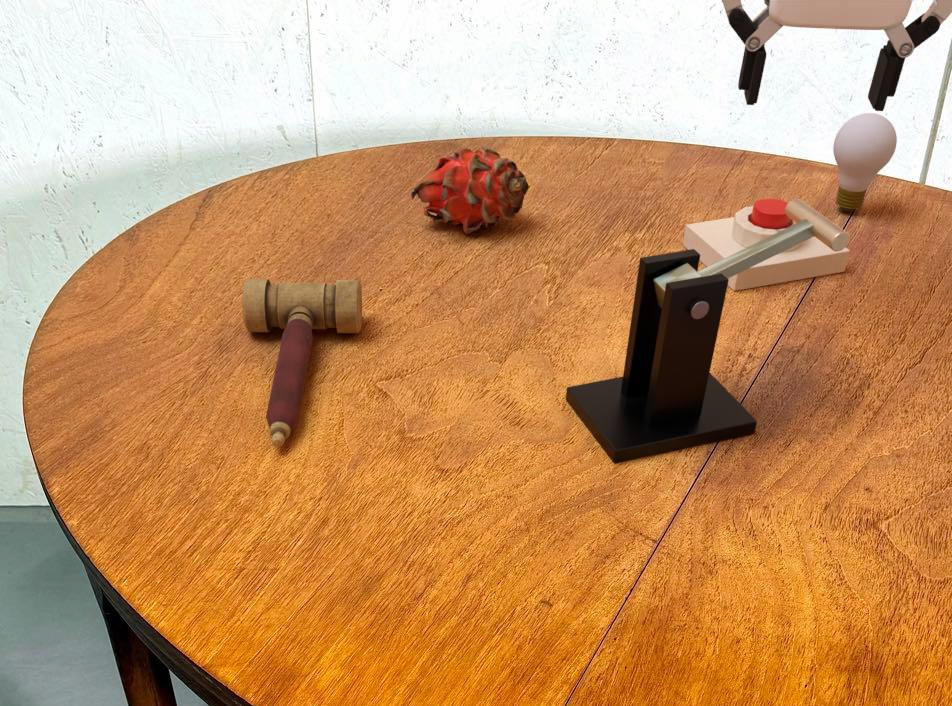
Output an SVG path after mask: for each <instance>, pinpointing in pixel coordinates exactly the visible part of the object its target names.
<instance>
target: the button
mask: <svg viewBox="0 0 952 706" xmlns="http://www.w3.org/2000/svg"><path fill="white" fill-rule="evenodd" d="M788 203H789V202H787V201H785V200H781V199H777V198H761V199H758V200H756V201H755V202H754V203H753V205H752V206H753V211H752V215H751V220H750V222H751V223H752V224H753V225H755V226H758V227H761V228H764V229H775V230H778V229H785V228H788V227H789V224H790V220H791V219H790V218H789V217H788V216H786V214H785V208H786V206H787V204H788Z"/></svg>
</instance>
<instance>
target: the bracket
mask: <svg viewBox="0 0 952 706" xmlns="http://www.w3.org/2000/svg"><path fill="white" fill-rule="evenodd" d="M686 263H688V264H689V265H690V266H691V267H693V268H694V269H695V270H696V271H697V272H698V271H699V265H700V254H699V253H698V252H697V251H696V250H695V249H691V250H687V249H686V250H679V251H672V252H668V253H666V252H665V253H662V254H654V255H647V256H643V257H640V258H639V264H638V269H637V276H636V284H635V291H634V297H633V304H632V312H631V318H630V325H629V332H628V339H627V346H626V353H625V358H624V359H625V361H624V367H623V374H622V376H619V377H618V376H617V377H614V378H608V379H603V380H598V381H593V382H592V381H591V382H588V383H582V384H576V385H572V386H567V387H566V392H565V400H566V402H567V403H568V405H570V407H571V408H572V409H573V411H574V412H575V414H576V415H577V416H578V418H579V419H580V420H581V422H582V423H583V424H584V426H585V427H586V428H587V429H588V431H589V432H590V433H591V435H592V436H593V438H594V439H595V440H596V441H597V443H598V444H599V445H600V447H601V448H602V450H604V452H605V453H606V454H607V456H608V457H609V458H610V460H611V461H612V462H613V463H614V464H615V463H620V462H626V461H631V460H635V459H639V458H640V459H641V458H644V457H650V456H655V455H659V454H662V453H663V454H664V453H669V452H673V451H677V450H682V449H688V448H693V447H697V446H702V445H707V444H711V443H715V442H721V441H725V440H731V439H735V438H739V437H740V438H741V437H745V436H748V435H754V434H755V432H756V428H757V424H758V420H756V418H755V417H754V416H753V415H752V414H751V413H750V412H749V411H748V410H747V409H746V408H745V407H744V406H743V405H742V404H741V403H740V402H739V401H738V400H737V399H736V398H735V397H734V396H733V395H732V393H730V391H729V390H728V389H727V388H725V387H724V385H722V383H721V382H720V381H719V380H718V379H717V378H716V377H715V376H714V375H713V374H712V373H711V368H712V367H711V366H712V363H713V357H714V353H715V348H716V343H717V339H718V333H719V329H720V324H721V319H722V315H723V314H722V313H723V310H724V305H725V300H726V295H727V290H728V287H729V286H728V281H729V279H727V278H726V277H725V276H724V275H723V274H716V275H710V276H704V277H698V278H692V279H686V280H681V281H675V282H669V283H666V288H665V294H664V300H663V306H662V309H661V308H660V306H659V305H658V301H657V296H656V291H655V286H654V281H653V280H654V279H655V278H657V277H659V276H661V275H664V274H666V273H668V272H670V271H672V270H674V269H676V268H678V267H680V266H682V265H684V264H686Z"/></svg>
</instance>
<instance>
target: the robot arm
mask: <svg viewBox="0 0 952 706" xmlns="http://www.w3.org/2000/svg"><path fill="white" fill-rule="evenodd" d="M721 1H722V5H723V8H724V11H725V14H726V17H727V21H728V24H729V26H730V27H731V28H732V29H733V31H734V32H735V34H736V35H737V36H738V38H739V39H740V40H741V42H742V43H743V44H744V51H743V55H742V62H741V66H740V72H739V76H738V83H737V84H738V85H737V88H738V90H739V91H743V94H744V98H745V103H746V106H754V105H755V104H757V103H758V100H759V99H758V98H759V94H760V89H761V84H762V81H763V75H764V70H765V66H766V61H767V60H766V59H767V51H766V48H765V44H766V43H767V42H768V41H769V40H770V39H772V38H773V37H774V35H775V34H777V33H778V32H779V31H780V30H781V29H782V28H783V27H790V28H807V29H828V30H830V29H831V30H854V31H855V30H856V31H857V30H858V31H859V30H860V31H884V33H885V35H886V37H887V39H888V40H887V42H886V44H885V45H884V44H883V47H882V48H880V50H879V53H878V56H877V59H876V60H877V61H876V64H875V67H874V72H873V76H872V78H871V83H870V87H869V89H868V94H867V99H868V101H869V103H870V105H871V107H872V109H873V110H874V111H875V112H884V110H885V108H886V103H887V100H888V98H889V97H890V98H893V97H894V96H895V95H896V92H897V87H898V85H899V82H900V78H901V74H902V71H903V68H904V65H905V61H906V58H909V57H910V56H912V54H913V53H914V51H915V49H916V48H918V47H919V46H920V45H922V44H923V43H924V42H926V41H927V40H928V39H930V38H931V37H933V36H934V35H935V34H936V33H938V31H939V30H940V27H941V25H943V23H944V21H946V20H947V19H948V18H949V16H950V15H951V14H952V0H932V2H931V4H930V5H929V7H928V9H927V10H926V12H924V13H922V14H921V15H920V16H918V17H917V18H916V19H914V20H913V21H911V22H910V23H909V24H908V25H907V26H905V25H904V21H905V20H906V19H907V17H908V15H909V12H910V9H911V7H912V3H913V0H763V2H764V3H763V4H764V5H765V6H766V7H765V8H764V9H763V10H762V11H761V12H760V13H759V14H758V15H756V16H755V17H754V18H753V19H751V17H750V16H749V15H748V13H747V12H746V11H745V9H744V7H743V5H742V0H721Z"/></svg>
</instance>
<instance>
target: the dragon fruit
mask: <svg viewBox="0 0 952 706" xmlns="http://www.w3.org/2000/svg"><path fill="white" fill-rule="evenodd" d="M481 149H482V150H483V151H484V153H483V152H482V150H480V149H477V150H476V151H475V152H474V151H473V150H472V149H470V148H465V147H464V148H460V149H456V150H455V151H454V152H453V155H451V156H445V157H444V156H443V157H441V158H440V159H439V160H438V163H437V165H436V166H435V168H434V169H433V170H432V171H431V172H430V173H428V174H427V175H426V177H424V179H423V180H422V181H421V182H419V183H418V184H417V185H416V187H414V188H413V191H411V194H410V197H411V200H412V201H413V200H415V197H416V195H417V198H418V199H420V202H422V203H424V204H426V203H428V205H427V206H425V207H424V208H423V211H422V212H423V215H424V216H426V217H427V218H429V219H431V220H433V222H438V223H444V224H446V223H449V224H450V225H455V226H456V225H461V224H462V227H463V229H462V230H463V233H465V234H468V235H470V234H471V233H473V232H475V231H477V230H479V229H480V228H481V226H483V227H484V228H485V229H491V228H495V227H496V226H497V225H498V223H499V219H500V218H502V219H506V220H512V219H513V218H515V217H516V214H519V213H520V210H522V208H523V205H524V204H523V203H524V199H525V195H526V194H527V193H528V190H529V188H530V187H531V186H530V185H529V183H528V182H527V178H526V176H525V174H524V173H523V171H521V170H520V169H519V168H518V166H517V164H516V163H515V161H513V160H511V159H509V158H507V157H505V158H503V157H501V155H500V153H499V152H498V151H496V150H494V149H493V148H491V147H489V146H484V147H481ZM434 214H436V215H434Z"/></svg>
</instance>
